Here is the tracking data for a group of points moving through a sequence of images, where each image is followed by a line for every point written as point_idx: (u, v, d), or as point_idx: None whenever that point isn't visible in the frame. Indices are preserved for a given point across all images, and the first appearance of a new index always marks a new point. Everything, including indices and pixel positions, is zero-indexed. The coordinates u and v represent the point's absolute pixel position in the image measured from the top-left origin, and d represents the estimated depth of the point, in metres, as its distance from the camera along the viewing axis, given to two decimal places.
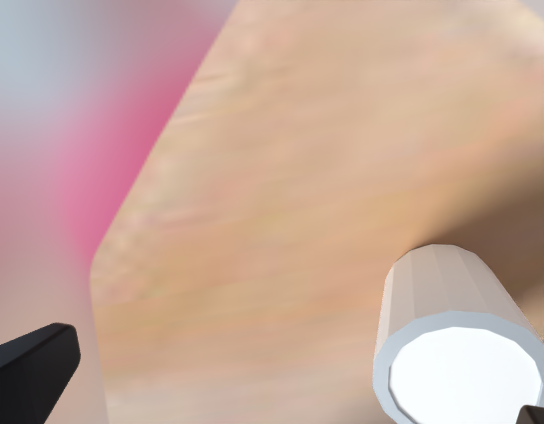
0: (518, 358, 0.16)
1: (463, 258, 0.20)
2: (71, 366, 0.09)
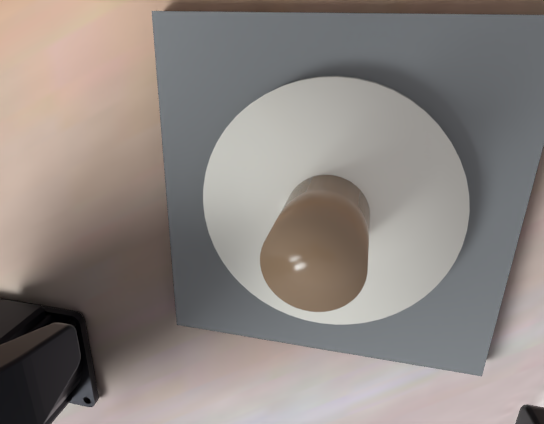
0: None
1: None
2: (71, 366, 0.09)
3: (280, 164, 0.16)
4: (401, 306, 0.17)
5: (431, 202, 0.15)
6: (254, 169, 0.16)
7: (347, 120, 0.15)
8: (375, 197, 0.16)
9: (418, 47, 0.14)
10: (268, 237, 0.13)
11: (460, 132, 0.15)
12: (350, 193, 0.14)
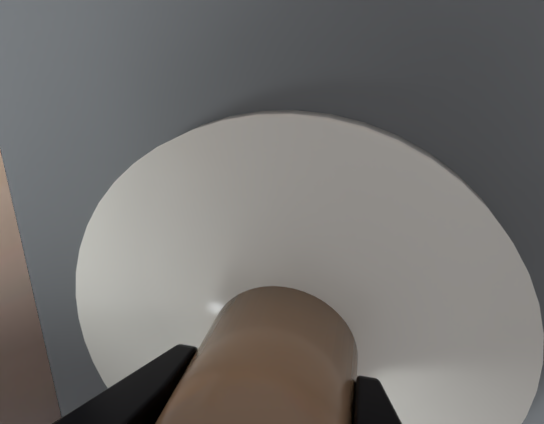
0: None
1: None
2: None
3: (197, 265, 0.09)
4: None
5: (470, 343, 0.08)
6: (154, 271, 0.09)
7: (311, 194, 0.08)
8: (366, 329, 0.09)
9: (450, 58, 0.07)
10: None
11: (527, 217, 0.08)
12: (316, 338, 0.08)
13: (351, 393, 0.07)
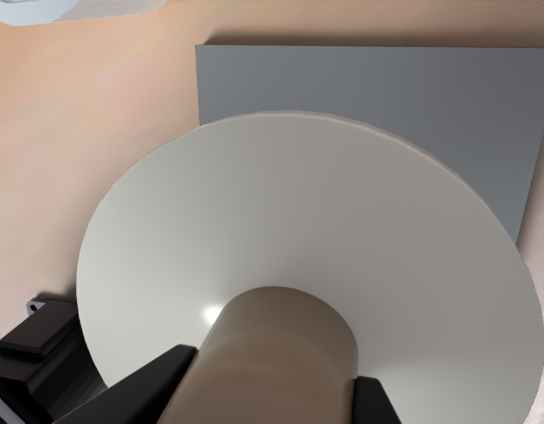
0: None
1: None
2: None
3: (198, 265, 0.09)
4: None
5: (471, 343, 0.08)
6: (155, 271, 0.09)
7: (312, 194, 0.08)
8: (367, 329, 0.09)
9: (428, 75, 0.16)
10: None
11: (465, 147, 0.17)
12: (317, 338, 0.08)
13: (352, 393, 0.07)
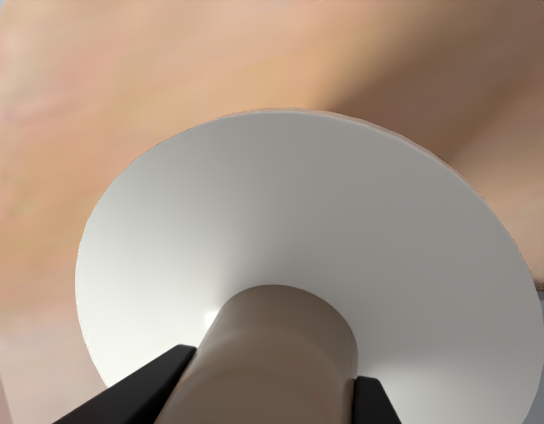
0: None
1: None
2: None
3: (197, 263, 0.09)
4: None
5: (471, 341, 0.08)
6: (154, 269, 0.09)
7: (312, 193, 0.08)
8: (366, 328, 0.09)
9: None
10: None
11: None
12: (316, 336, 0.07)
13: (351, 392, 0.07)
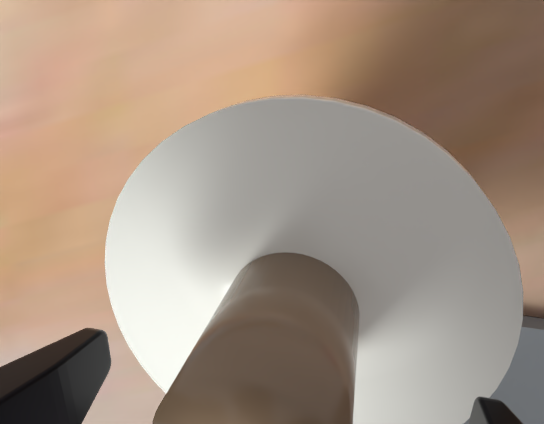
0: None
1: None
2: (102, 372, 0.09)
3: (216, 234, 0.10)
4: None
5: (459, 301, 0.09)
6: (177, 240, 0.10)
7: (319, 169, 0.09)
8: (367, 290, 0.10)
9: None
10: (163, 405, 0.07)
11: None
12: (323, 292, 0.09)
13: (354, 341, 0.09)
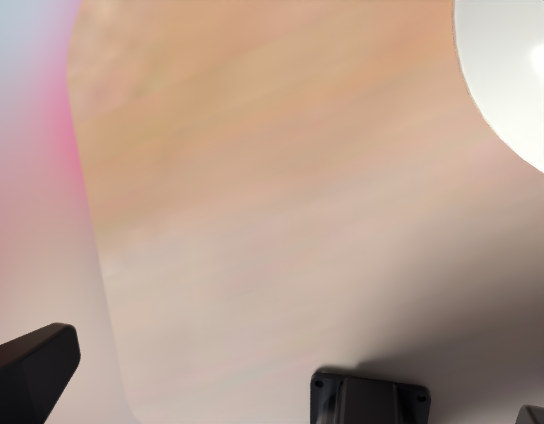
0: None
1: None
2: (71, 366, 0.09)
3: None
4: None
5: None
6: None
7: None
8: None
9: None
10: None
11: None
12: None
13: None
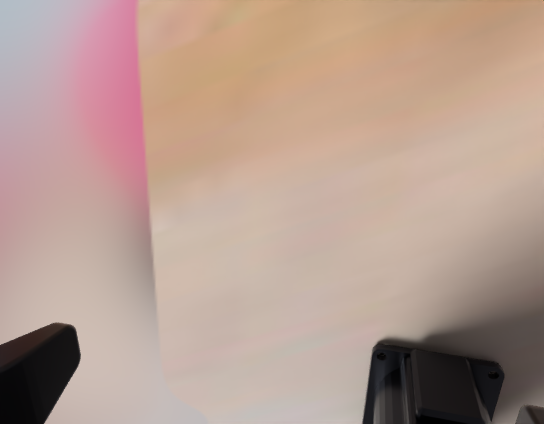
0: None
1: None
2: (71, 366, 0.09)
3: None
4: None
5: None
6: None
7: None
8: None
9: None
10: None
11: None
12: None
13: None
